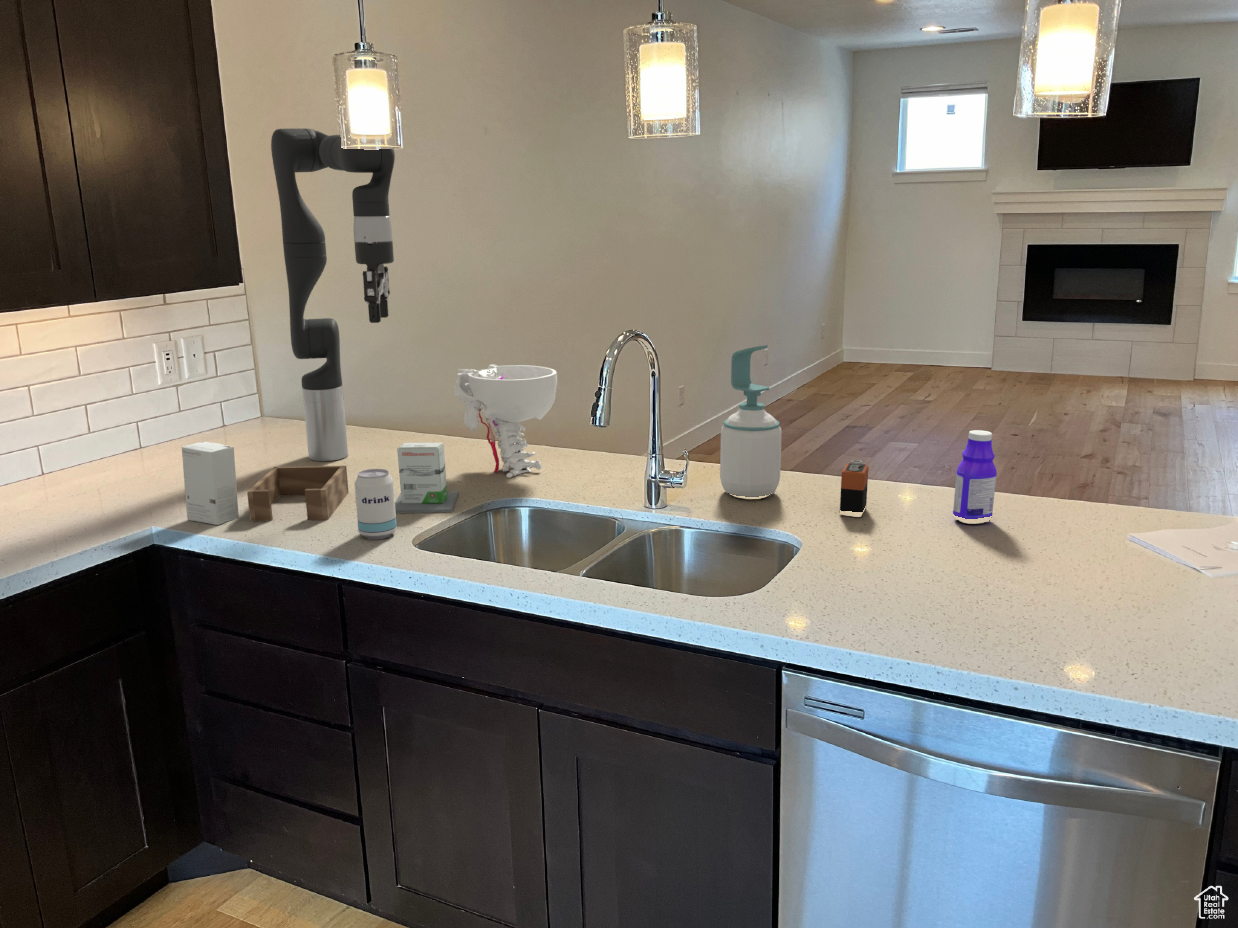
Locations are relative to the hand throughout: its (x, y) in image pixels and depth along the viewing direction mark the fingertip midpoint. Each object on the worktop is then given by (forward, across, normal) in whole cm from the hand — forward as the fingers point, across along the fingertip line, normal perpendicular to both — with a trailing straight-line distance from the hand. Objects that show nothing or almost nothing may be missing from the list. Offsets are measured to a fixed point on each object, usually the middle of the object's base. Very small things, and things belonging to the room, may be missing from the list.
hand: (379, 320), depth 206 cm
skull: (+36, -12, +24) cm, 45 cm away
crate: (+36, +12, -16) cm, 41 cm away
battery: (+36, +24, +94) cm, 104 cm away
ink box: (+36, +12, +9) cm, 39 cm away
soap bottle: (+36, +10, +76) cm, 85 cm away
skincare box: (+36, +19, -31) cm, 51 cm away
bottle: (+36, +31, +115) cm, 125 cm away
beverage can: (+36, +31, +3) cm, 48 cm away
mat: (+36, +12, +9) cm, 39 cm away
